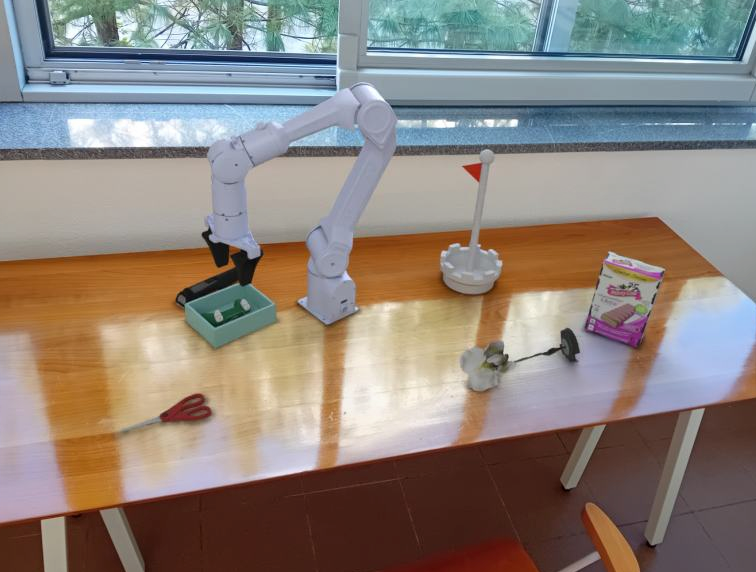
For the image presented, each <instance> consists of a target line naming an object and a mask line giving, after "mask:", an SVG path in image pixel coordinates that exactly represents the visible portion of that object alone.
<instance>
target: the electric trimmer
mask: <svg viewBox="0 0 756 572" xmlns="http://www.w3.org/2000/svg"><path fill="white" fill-rule="evenodd" d="M237 281H238V275H237V270H236V267H235V266H234V267H232V268H229V269H227V270H225V271H223V272H221V273H218V274H216V275H213V276H211V277H208V278H205V279H204V280H202V281H199V282H197V283H195V284H193V285H190V286H187V287H185V288H183V289H182V290H181V291H179V292H178V293H177V295H176V297H175V303H176V305H178V306H179V307H181V308H182V309H185V304H186V303H188V302H191V301H193V300H196V299H198V298H201V297H204V296H206V295H209V294H211V293H214V292H217V291H219V290H222V289H224V288H227V287H230V286H232V285H234V284H236V282H237ZM238 282H239V281H238Z"/></svg>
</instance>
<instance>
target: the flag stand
mask: <svg viewBox="0 0 756 572" xmlns="http://www.w3.org/2000/svg"><path fill="white" fill-rule="evenodd" d="M479 161H480V162H478V163H477V162H476V163H472V164H466V165H461V167H462V169H464V170H465V171H466V172H467V174H469V175H470V176H471V177H472V178H473V179H475V181H476V182H478V189H477V195H476V201H475V208H474V215H473V221H472V229H471V237H470V241H469V242H468V243H469V244H468V246H461V244H460V243H459V242H457V243H453V244H450V245H448V250H442V251H441V252H440V260H439V268H440V271H441V272H442V275H443V276H442V280H443V282H444V283H445V285H446V286H447V287H448V288H450V289H452V290H453V291H456V292H458V293H461V294H466V295H480V294H484V293H487V292H489V291H490V290H492V288H493V287H494V285H495V281H497V280H498V279H499V277H500V276H501V273H502V268H503V260H499V253H498V252H497V251H496V250H494V249H492V248H490V249H488V250H487V251H486V250H484V249H482V244H480V243H479V237H480V230H481V224H482V217H483V211H484V206H485V205H484V204H485V197H486V191H487V185H488V179H489V172H490V165H491V164H492V163H493V162H494V161H495V153H494V152H493V151H492V150H491V149H487V148H486V149H484V150H482V151H481V152H480V153H479Z"/></svg>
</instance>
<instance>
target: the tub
mask: <svg viewBox="0 0 756 572" xmlns="http://www.w3.org/2000/svg"><path fill="white" fill-rule="evenodd" d="M237 299H241V300H243V299H244V300H246V301H247V302H248V304H249V305H250V307H251V310H250V312H249V313H247V314H245V315H242V316H240V317H239V318H238V319H235V320H233V319H232V320H230V321H227V323H225V324H223V325H220V326H217V327H214V326H212V325H211V324H210V323H209V322H208V321H206V320H205V319H204V318H203V317H202V316H201V315H200V314H203V313H214V312H215V311H216V310H219V311H220V312H223V311H226V310H228V309H231V308H233V307H234V302H235V300H237ZM184 312H185V322H186V323H187V324H188V325H189V326H190V327H191V328H193V329H194V331H196V332H197V333H198V334H199V335H200V336H201V337H203V338H204V339H205V340H206V341H207V342H208V343H209V344H210V345H211V346H212V347H214V348H215V349H217V348H220V347H221V346H223V345H225V344H228V343H231V342H233V341H234V340H235V341H236V340H237V339H240V338H242V337H244V336H246V335H249V334H250V333H253V332H256V331H257V330H259V329H263V328H264V327H267V326H269V325H271V324H274V323H277V304H276V303H275V302H274V301H273V300H272V299H270V298H269V297H268V296H267V295H265V294H264V293H263V292H261V291H260V290H259V289H257V288H256V287H255V286H254V285H252V283H251V284H248V285H246V286H243V287H242V286H241V285H240V284H239V282H238V283H234V284H232V285H230V286H228V287H227V288H224V289H222V290H216V291H214V292H212V293H210V294H208V295H206V296H204V297H201V298H198V299H196V300H193V301H191V302H188V303H186V304H185V308H184Z"/></svg>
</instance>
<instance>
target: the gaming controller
mask: <svg viewBox="0 0 756 572" xmlns="http://www.w3.org/2000/svg"><path fill="white" fill-rule="evenodd" d="M250 310H251V307H250V305H249V304H248V302H247V301H246V300H244V299H243V300H241V299H237V300H235V302H234V307H233V308H231V309H228V310H226V311H223V312H220V311H219V310H216V311H215V312H214V313H203V314H200V315H201V316H202V317H203V318H204V319H205V320H206V321H208V322H209V323H210V324H211V325H212V326H214V327H217V326H220V325H223V324H225V323H227V321H230V320H232V319H233V320H235V319H238V318H239V317H240V316H242V315H245V314H247V313H249V312H250Z"/></svg>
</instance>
